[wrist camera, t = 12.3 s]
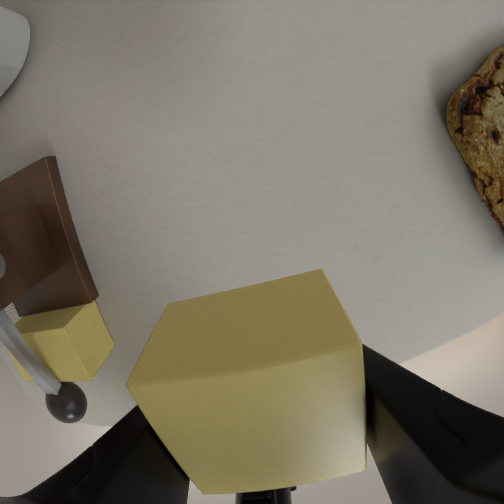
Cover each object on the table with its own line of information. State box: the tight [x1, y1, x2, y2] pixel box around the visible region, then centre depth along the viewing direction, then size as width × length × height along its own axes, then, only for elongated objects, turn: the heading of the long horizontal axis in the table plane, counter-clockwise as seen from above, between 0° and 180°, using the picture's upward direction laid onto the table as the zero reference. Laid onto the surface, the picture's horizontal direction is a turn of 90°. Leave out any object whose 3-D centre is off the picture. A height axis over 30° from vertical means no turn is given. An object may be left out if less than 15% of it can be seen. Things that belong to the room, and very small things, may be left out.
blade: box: [0, 309, 87, 423], centre depth 15 cm, size 14×3×3 cm, turn 14°
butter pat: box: [127, 269, 367, 494], centre depth 7 cm, size 4×4×4 cm
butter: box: [6, 300, 115, 382], centre depth 19 cm, size 4×7×4 cm, turn 103°
